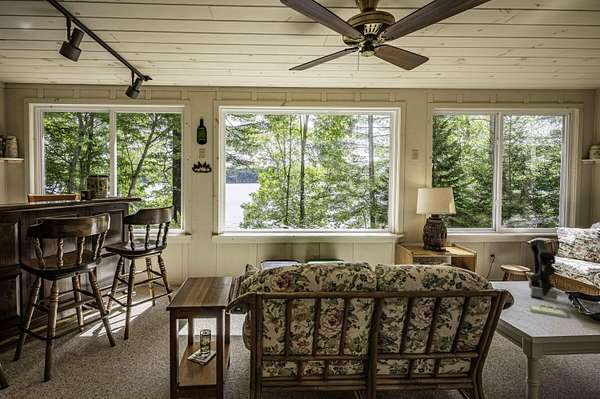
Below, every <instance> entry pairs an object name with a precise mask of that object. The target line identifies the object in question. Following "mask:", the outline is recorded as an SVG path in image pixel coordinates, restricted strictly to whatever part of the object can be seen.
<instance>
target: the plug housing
mask: <svg viewBox="0 0 600 399" xmlns="http://www.w3.org/2000/svg"><path fill="white" fill-rule="evenodd" d="M530 295H532V296H536V297H542V298H543V299H550V300H558V291H557V289H554V288H551V289H550V290H549V292H548V293H547V295H546V296H543V290H542V288H539V287H532V286H531V289H530Z"/></svg>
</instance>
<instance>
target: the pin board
mask: <svg viewBox="0 0 600 399" xmlns="http://www.w3.org/2000/svg"><path fill="white" fill-rule="evenodd" d="M527 308H528V310H529V311H530V313H535V314H536V313H537V314H541V315H547V316H553V317H557V318H558V317H560V318H564V319H568V314H567V313H566V311H564V309H559V308H558V309H557V308H556V306H553V307H552V308H551V307H549V305H548V304H546V305H545V306H542V304H541V303H539V305H538V306H537V305H534V304H533V305H532V304H528V305H527Z"/></svg>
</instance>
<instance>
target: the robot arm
mask: <svg viewBox="0 0 600 399" xmlns="http://www.w3.org/2000/svg"><path fill="white" fill-rule="evenodd" d="M528 246H529V247H528V248H529V251H530V253H532V257H533V260H532V261H533V262H532V263H533V273H534V274H531V275H529V274H528V279H529V278H530V283H529V282H528V287H529V289H530V290H531V286H532V287H539V288H542V290H543V296H546V295H547V293H548V292H549V290H550V289H554V284H553V282H552V280H551V276H552V275H554V274H555V273H556V269H555V267H554V266H553V265H556V262H557V260H556V258H555V255H554V254H553V252H552V250H549V249H548V248H547V245H546V241H545V240H544V239H534V240H531V241H530V242H529V245H528ZM530 298H531V299H538V300H544V298H542V297H536V296H532V295H531V294H530Z"/></svg>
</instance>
